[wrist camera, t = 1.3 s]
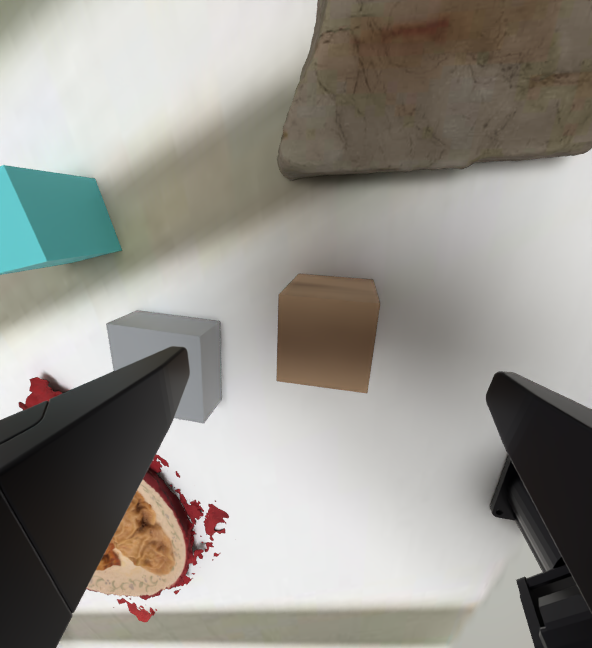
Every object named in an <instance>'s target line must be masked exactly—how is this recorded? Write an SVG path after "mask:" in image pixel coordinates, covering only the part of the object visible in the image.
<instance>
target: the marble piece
mask: <svg viewBox="0 0 592 648" xmlns="http://www.w3.org/2000/svg"><path fill="white" fill-rule="evenodd" d="M591 148H592V0H318V3H317V16H316V24H315V27H314V34H313V38H312V42H311V48H310V51H309V54H308V57H307V59H306V62H305V64H304V66H303V68H302V72H301V76H300V82H299V84H298V86H297V88H296V91H295V95H294V98H293V101H292V104H291V107H290V110H289V112H288V114H287V118H286V121H285V124H284V126H283V135H282V138H281V143H280V147H279V150H278V157H277V163H278V167H279V170H280V171H281V173H282V174H283V176H285V177H287V178H288V179H290V180H294V179H297V178H304V177H314V176H318V175H347V174H369V173H375V172H408V171H412V170H421V169H422V170H425V169H429V170H435V169H444V168H457V169H464V168H466V167H469V166H470V165H471V164H473V163H475V162H491V161H507V160H509V161H520V160H530V159H538V158H548V157H560V156H570V155H572V156H574V155H579V154H584V153H586V152H588V151H589V150H590V149H591Z"/></svg>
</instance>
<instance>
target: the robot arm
mask: <svg viewBox="0 0 592 648" xmlns="http://www.w3.org/2000/svg"><path fill="white" fill-rule="evenodd" d="M189 376H190V367H189V359H188V352H187V349H186V348H185V347H179V346H171V347H168V348H166V349H164V350H162V351H159V352H157V353H155V354H152V355H150V356H148V357H145V358H143V359H141V360H139V361H136V362H134V363H132V364H129V365H127V366H125V367H122V368H120V369H118V370H116V371H113V372H111V373H109V374H106V375H104V376H102V377H99V378H97V379H95V380H93V381H90V382H88V383H86V384H83V385H81V386H79V387H76V388H74V389H72V390H70V391H67V392H65V393H63V394H60V395H58V396H56V397H53V398H51V399H50V400H49V401H44V402H42V403H39V404H37V405H35V406H33V407H30V408H28V409H26V410H23V411H21V412H18V413H16V414H14V415H11V416H9V417H7V418H4V419H2V420H0V648H56V647H57V645H58V643H59V641H60V639H61V637H62V635H63V633H64V631H65V629H66V627H67V626H68V624H69V622H70V620H71V618H72V613H73V612H74V611H75V610H76V608H77V606H78V604H79V602H80V600H81V598H82V596H83V594H84V592H85V590H86V588H87V586H88V584H89V582H90V580H91V579H92V577H93V575H94V573H95V571H96V569H97V567H98V565H99V563H100V561H101V559H102V557H103V555H104V553H105V551H106V550H107V548H108V546H109V544H110V542H111V540H112V538H113V536H114V534H115V532H116V530H117V528H118V526H119V524H120V522H121V521H122V519H123V517H124V515H125V513H126V511H127V509H128V507H129V505H130V503H131V501H132V499H133V497H134V495H135V493H136V492H137V490H138V488H139V486H140V484H141V482H142V480H143V478H144V476H145V474H146V472H147V470H148V468H149V466H150V464H151V462H152V461H153V459H154V457H155V455H156V453H157V451H158V449H159V447H160V445H161V443H162V441H163V439H164V437H165V435H166V433H167V432H168V430H169V428H170V425H171V423H172V421H173V419H174V416H175V414H176V411H177V409H178V406H179V403H180V401H181V398H182V395H183V393H184V390H185V387H186V385H187V382H188V379H189ZM486 402H487V405H488V407H489V410H490V412H491V415H492V417H493V420H494V422H495V425H496V427H497V430H498V432H499V435H500V437H501V440H502V442H503V444H504V447H505V449H506V451H507V453H508V455H509V456H508V458H507V461H506V464H505V467H504V470H503V472H502V475H501V478H500V481H499V484H498V486H497V489H496V492H495V495H494V498H493V500H492V503H491V506H490V509H491V512H492V514H493V515H494V516H495V517H499V518H505V519H510V520H515V521H516V522H517V524H518V526H519V528H520V530H521V532H522V534H523V536H524V538H525V539H526V541H527V543H528V545H529V547H530V549H531V551H532V553H533V554H534V556H535V558H536V560H537V562H538V564H539V566H540V568H541V570H542V571H543V573H540V574H537V575H534V576H532V577H529V578H526V577H523V578H520V579H517V585H518V588H519V591H520V598H521V602H522V605H523V609H524V612H525V616H526V619H527V622H528V626H529V629H530V633H531V636H532V639H533V643H534V646H535V648H592V409H590V408H587V407H585V406H583V405H581V404H579V403H577V402H575V401H573V400H571V399H569V398H566V397H564V396H562V395H560V394H558V393H556V392H554V391H552V390H550V389H547V388H545V387H543V386H541V385H539V384H537V383H535V382H533V381H531V380H528V379H526V378H524V377H522V376H520V375H518V374H516V373H513V372H502V371H500V372H497V373H496V374H495V375H494V377H493V379H492V382H491V384H490V386H489V389H488V391H487V394H486Z"/></svg>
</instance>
